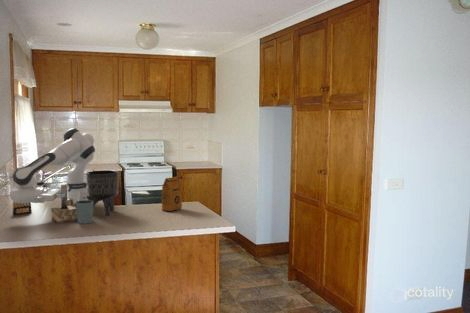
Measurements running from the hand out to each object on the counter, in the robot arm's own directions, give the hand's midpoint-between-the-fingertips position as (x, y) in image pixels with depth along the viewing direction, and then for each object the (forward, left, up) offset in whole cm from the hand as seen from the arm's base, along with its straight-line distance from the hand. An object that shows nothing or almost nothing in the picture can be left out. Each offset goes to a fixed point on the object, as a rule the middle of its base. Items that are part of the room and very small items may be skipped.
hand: (65, 194), depth 254 cm
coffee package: (-62, +20, -15) cm, 67 cm away
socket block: (+1, -1, -15) cm, 15 cm away
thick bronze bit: (-6, -11, -15) cm, 20 cm away
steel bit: (+1, 0, -8) cm, 8 cm away
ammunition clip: (+15, -33, -16) cm, 40 cm away
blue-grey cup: (-6, +12, -15) cm, 20 cm away
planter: (-24, -1, -15) cm, 29 cm away
